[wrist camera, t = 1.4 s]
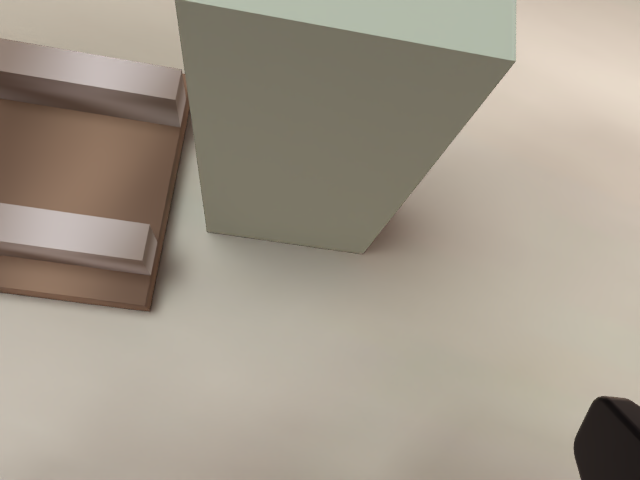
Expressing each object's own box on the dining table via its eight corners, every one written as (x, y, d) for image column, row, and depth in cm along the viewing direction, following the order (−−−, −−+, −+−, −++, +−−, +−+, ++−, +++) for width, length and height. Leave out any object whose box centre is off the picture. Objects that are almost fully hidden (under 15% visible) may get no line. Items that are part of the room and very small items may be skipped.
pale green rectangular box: (368, 194, 24) (516, -51, 11) (362, 254, 23) (515, 61, 10) (217, 171, 23) (200, -116, 11) (207, 231, 22) (174, -2, 10)
